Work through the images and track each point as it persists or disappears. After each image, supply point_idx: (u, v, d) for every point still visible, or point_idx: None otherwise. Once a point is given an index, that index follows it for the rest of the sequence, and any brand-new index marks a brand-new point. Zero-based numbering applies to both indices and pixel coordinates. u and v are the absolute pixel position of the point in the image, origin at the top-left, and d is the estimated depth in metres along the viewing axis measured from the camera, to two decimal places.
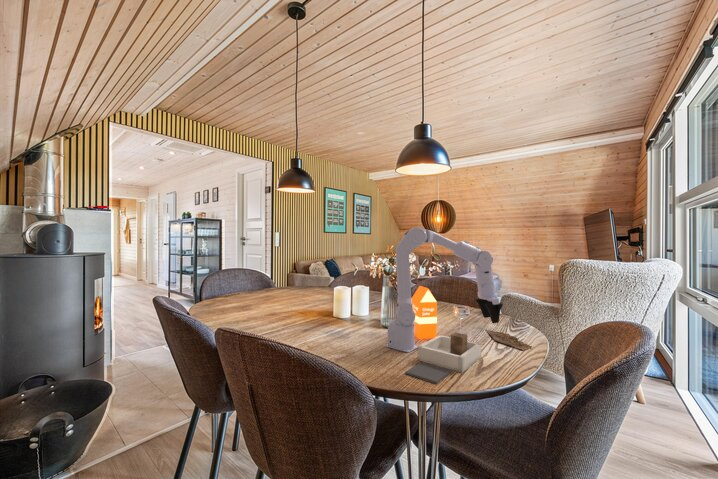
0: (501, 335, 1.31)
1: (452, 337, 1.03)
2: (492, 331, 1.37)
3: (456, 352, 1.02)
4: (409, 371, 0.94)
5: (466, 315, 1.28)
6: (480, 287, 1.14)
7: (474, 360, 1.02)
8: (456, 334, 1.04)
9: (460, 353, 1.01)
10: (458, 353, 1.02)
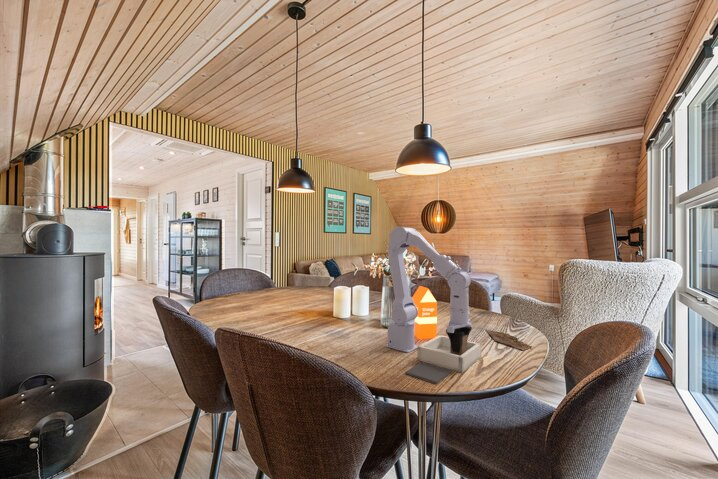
0: (501, 335, 1.31)
1: None
2: (492, 331, 1.37)
3: (456, 352, 1.02)
4: (409, 371, 0.94)
5: None
6: (450, 311, 1.04)
7: (474, 360, 1.02)
8: None
9: (460, 353, 1.01)
10: (458, 353, 1.02)
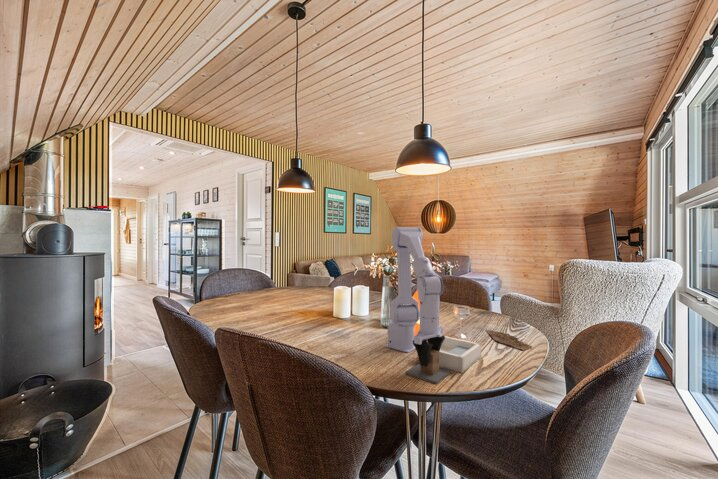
0: (501, 335, 1.31)
1: None
2: (492, 331, 1.37)
3: (426, 370, 0.92)
4: (409, 371, 0.94)
5: (466, 315, 1.28)
6: None
7: (474, 360, 1.02)
8: None
9: (430, 372, 0.92)
10: (428, 372, 0.92)
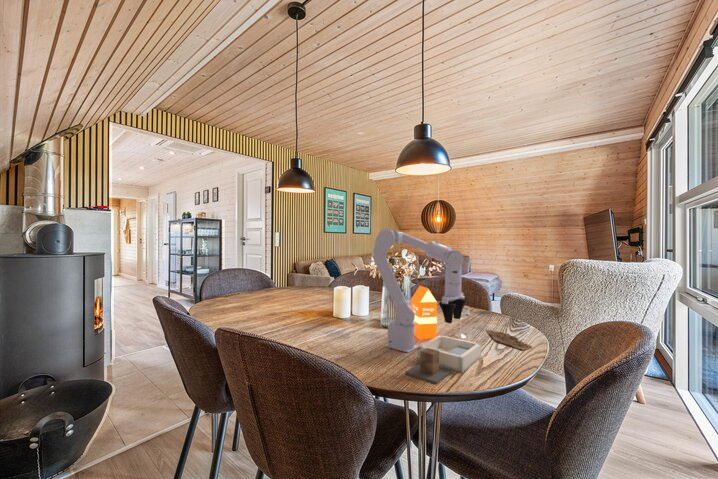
0: (501, 335, 1.31)
1: (422, 354, 0.93)
2: (492, 331, 1.37)
3: (426, 370, 0.92)
4: (409, 371, 0.94)
5: (466, 315, 1.28)
6: (445, 285, 1.15)
7: (474, 360, 1.02)
8: (427, 350, 0.94)
9: (430, 372, 0.92)
10: (428, 372, 0.92)
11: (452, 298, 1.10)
